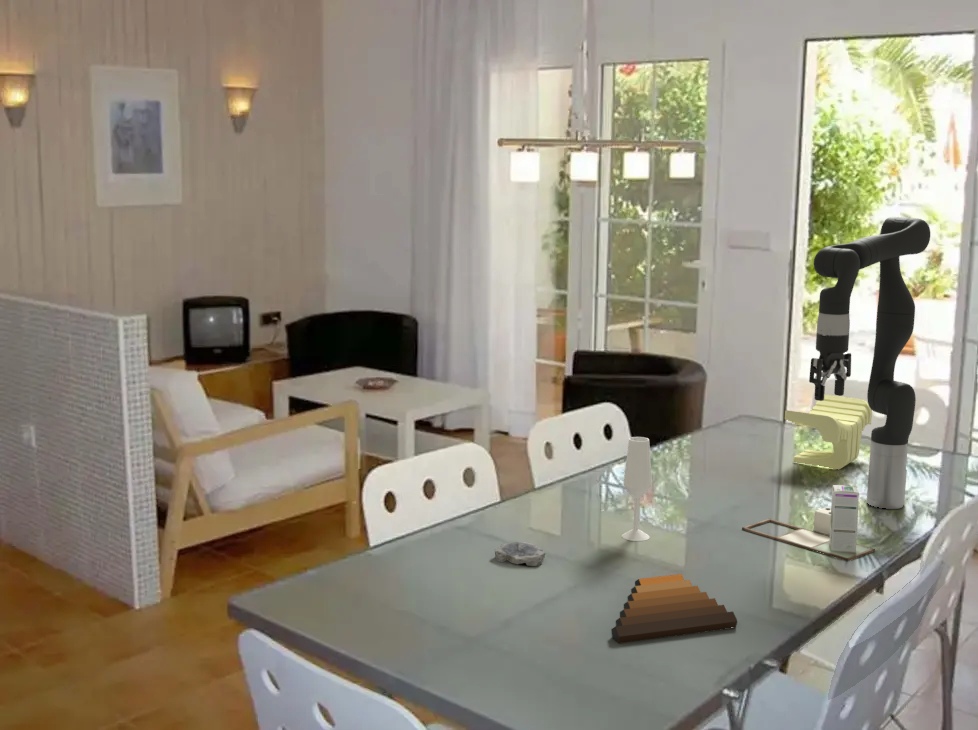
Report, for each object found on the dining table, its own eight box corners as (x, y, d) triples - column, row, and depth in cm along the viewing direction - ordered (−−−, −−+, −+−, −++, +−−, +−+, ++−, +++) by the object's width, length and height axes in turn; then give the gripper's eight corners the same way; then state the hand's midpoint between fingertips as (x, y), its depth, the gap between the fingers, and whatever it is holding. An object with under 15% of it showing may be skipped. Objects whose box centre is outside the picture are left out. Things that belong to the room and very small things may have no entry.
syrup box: (856, 553, 266) (860, 492, 264) (829, 551, 268) (833, 490, 265) (854, 545, 272) (858, 485, 269) (828, 543, 273) (832, 483, 271)
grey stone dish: (489, 551, 258) (504, 529, 267) (488, 567, 260) (503, 545, 268) (538, 563, 255) (551, 540, 263) (537, 578, 256) (550, 555, 265)
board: (769, 520, 291) (769, 518, 291) (874, 551, 270) (874, 548, 269) (742, 529, 284) (742, 527, 284) (848, 561, 262) (848, 559, 262)
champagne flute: (653, 534, 280) (657, 437, 275) (644, 542, 274) (648, 443, 269) (626, 530, 282) (629, 434, 278) (617, 538, 276) (621, 440, 272)
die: (825, 526, 287) (826, 506, 286) (842, 531, 284) (844, 511, 283) (813, 530, 284) (814, 510, 283) (831, 535, 280) (832, 515, 279)
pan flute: (618, 647, 216) (736, 631, 224) (619, 630, 216) (737, 614, 224) (568, 599, 240) (677, 586, 247) (568, 583, 239) (677, 571, 247)
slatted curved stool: (835, 478, 331) (839, 417, 328) (781, 469, 340) (785, 410, 337) (868, 457, 355) (872, 400, 352) (817, 449, 364) (821, 393, 361)
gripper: (835, 327, 285) (831, 391, 288) (802, 332, 276) (798, 399, 279) (863, 330, 279) (858, 396, 282) (830, 336, 270) (826, 404, 273)
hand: (829, 397), depth 281 cm, fingers open, 8 cm apart
